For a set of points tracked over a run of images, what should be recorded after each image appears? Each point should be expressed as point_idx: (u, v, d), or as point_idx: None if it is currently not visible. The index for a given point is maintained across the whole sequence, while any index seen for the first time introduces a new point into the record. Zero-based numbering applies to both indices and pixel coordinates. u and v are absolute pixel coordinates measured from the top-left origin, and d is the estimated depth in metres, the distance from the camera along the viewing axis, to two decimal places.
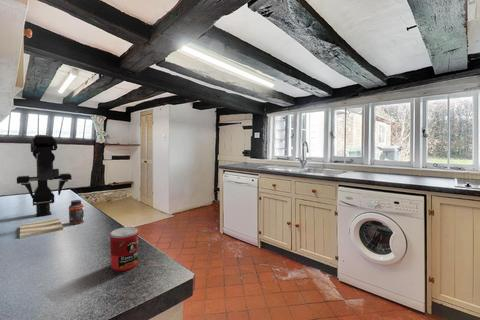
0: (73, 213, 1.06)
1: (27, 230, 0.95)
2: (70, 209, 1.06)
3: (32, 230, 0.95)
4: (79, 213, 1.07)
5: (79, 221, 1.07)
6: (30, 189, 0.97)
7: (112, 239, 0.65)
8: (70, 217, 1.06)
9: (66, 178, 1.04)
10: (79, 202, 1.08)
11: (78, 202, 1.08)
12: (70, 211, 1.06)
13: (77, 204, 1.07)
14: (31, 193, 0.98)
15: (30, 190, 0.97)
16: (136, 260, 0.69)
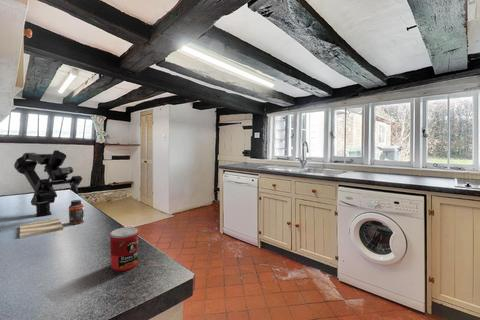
0: (73, 213, 1.06)
1: (27, 230, 0.95)
2: (70, 209, 1.06)
3: (32, 230, 0.95)
4: (79, 213, 1.07)
5: (79, 221, 1.07)
6: (52, 188, 1.08)
7: (112, 239, 0.65)
8: (70, 217, 1.06)
9: (78, 177, 1.20)
10: (79, 202, 1.08)
11: (78, 202, 1.08)
12: (70, 211, 1.06)
13: (77, 204, 1.07)
14: (54, 192, 1.08)
15: (52, 189, 1.08)
16: (136, 260, 0.69)
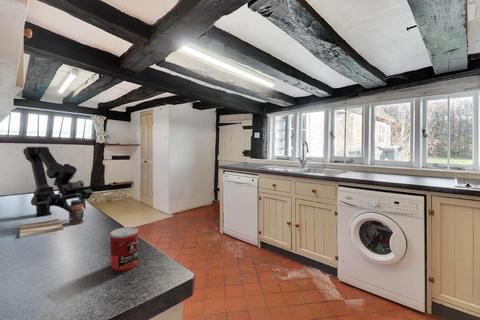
0: (73, 213, 1.06)
1: (27, 230, 0.95)
2: None
3: (32, 230, 0.95)
4: (79, 213, 1.07)
5: (79, 221, 1.07)
6: (66, 203, 1.05)
7: (112, 239, 0.65)
8: (70, 217, 1.06)
9: (88, 191, 1.16)
10: (79, 202, 1.08)
11: (78, 202, 1.08)
12: None
13: (77, 204, 1.07)
14: (68, 207, 1.05)
15: (67, 204, 1.05)
16: (136, 260, 0.69)
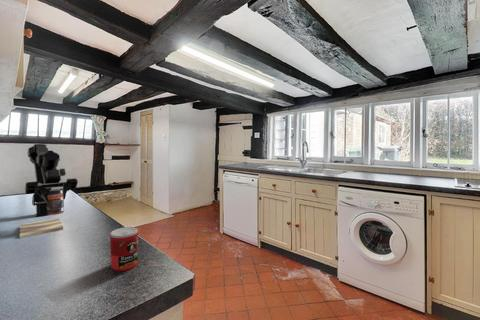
0: (50, 203, 0.99)
1: (27, 230, 0.95)
2: (47, 198, 1.00)
3: (32, 230, 0.95)
4: (56, 203, 1.00)
5: (56, 212, 1.00)
6: (44, 192, 0.99)
7: (112, 239, 0.65)
8: (47, 207, 1.00)
9: (72, 180, 1.09)
10: (57, 191, 1.01)
11: (56, 191, 1.01)
12: None
13: (54, 193, 1.00)
14: (45, 196, 0.99)
15: (44, 193, 0.99)
16: (136, 260, 0.69)
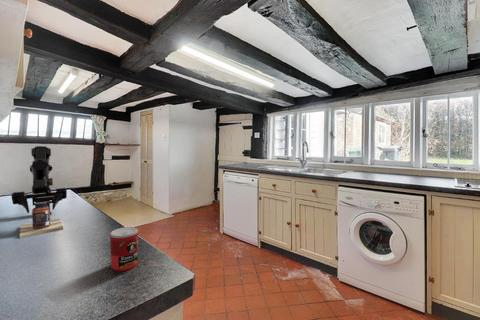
0: (34, 216, 0.96)
1: (27, 230, 0.95)
2: (32, 212, 0.97)
3: (32, 230, 0.95)
4: (40, 217, 0.97)
5: (40, 226, 0.97)
6: (26, 203, 0.96)
7: (112, 239, 0.65)
8: (32, 220, 0.97)
9: (61, 190, 1.05)
10: (42, 205, 0.98)
11: (40, 205, 0.98)
12: (32, 214, 0.97)
13: (38, 207, 0.97)
14: (27, 207, 0.95)
15: (26, 204, 0.96)
16: (136, 260, 0.69)
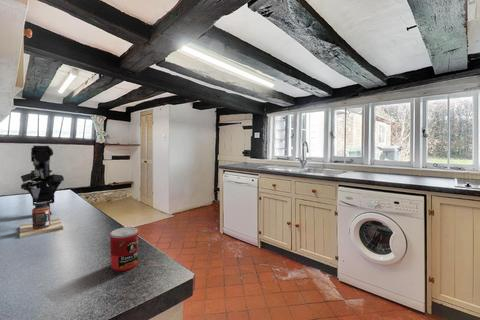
0: (34, 216, 0.96)
1: (27, 230, 0.95)
2: (32, 212, 0.97)
3: (32, 230, 0.95)
4: (40, 217, 0.97)
5: (40, 226, 0.97)
6: (31, 193, 1.08)
7: (112, 239, 0.65)
8: (32, 220, 0.97)
9: (49, 178, 1.06)
10: (42, 205, 0.98)
11: (40, 205, 0.97)
12: (32, 214, 0.97)
13: (38, 207, 0.97)
14: (32, 196, 1.08)
15: (31, 194, 1.08)
16: (136, 260, 0.69)
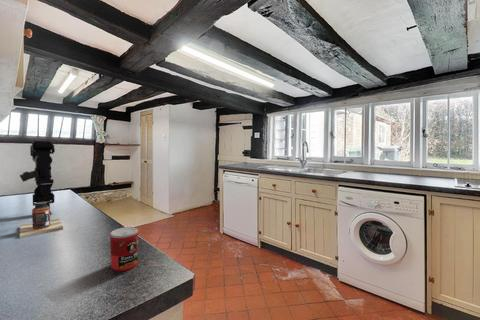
0: (34, 216, 0.96)
1: (27, 230, 0.95)
2: (32, 212, 0.97)
3: (32, 230, 0.95)
4: (40, 217, 0.97)
5: (40, 226, 0.97)
6: None
7: (112, 239, 0.65)
8: (32, 220, 0.97)
9: (36, 182, 1.03)
10: (42, 205, 0.98)
11: (40, 205, 0.97)
12: (32, 214, 0.97)
13: (38, 207, 0.97)
14: (41, 190, 1.13)
15: None
16: (136, 260, 0.69)
